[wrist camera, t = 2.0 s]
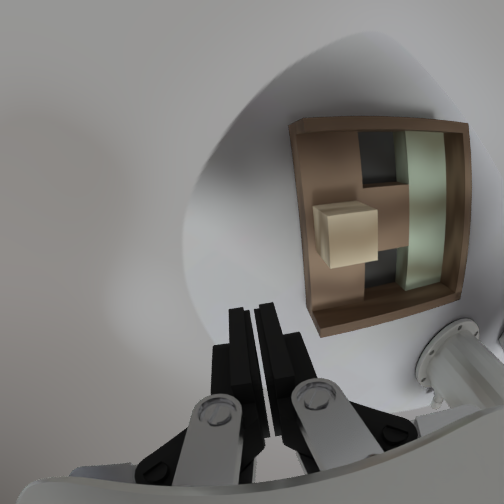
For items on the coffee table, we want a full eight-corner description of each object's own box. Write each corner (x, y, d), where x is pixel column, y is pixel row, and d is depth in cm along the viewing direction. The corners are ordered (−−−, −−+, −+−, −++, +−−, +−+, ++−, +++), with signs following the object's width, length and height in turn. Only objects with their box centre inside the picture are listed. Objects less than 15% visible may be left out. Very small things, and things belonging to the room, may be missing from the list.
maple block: (358, 244, 25) (377, 260, 21) (316, 251, 25) (330, 268, 21) (356, 200, 23) (377, 209, 20) (312, 205, 23) (327, 216, 20)
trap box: (433, 278, 30) (460, 299, 24) (306, 307, 29) (320, 337, 24) (434, 124, 24) (468, 123, 18) (288, 125, 23) (303, 118, 18)
